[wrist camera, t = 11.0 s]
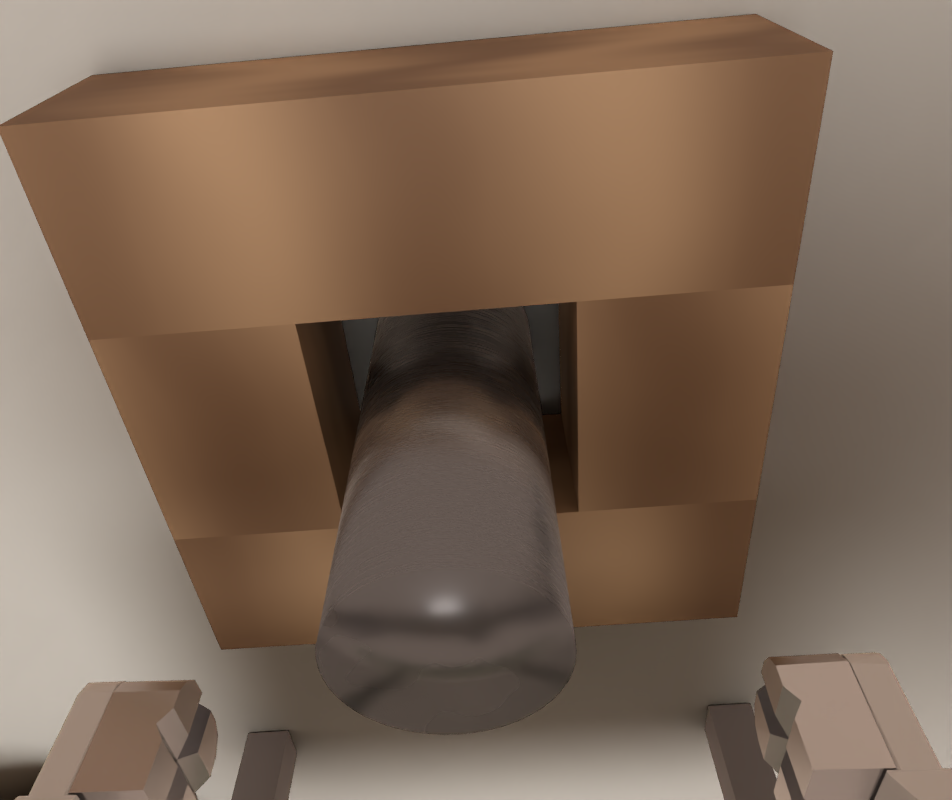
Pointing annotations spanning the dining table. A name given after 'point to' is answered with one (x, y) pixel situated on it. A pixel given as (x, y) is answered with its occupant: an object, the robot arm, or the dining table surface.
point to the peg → (448, 534)
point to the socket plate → (443, 283)
